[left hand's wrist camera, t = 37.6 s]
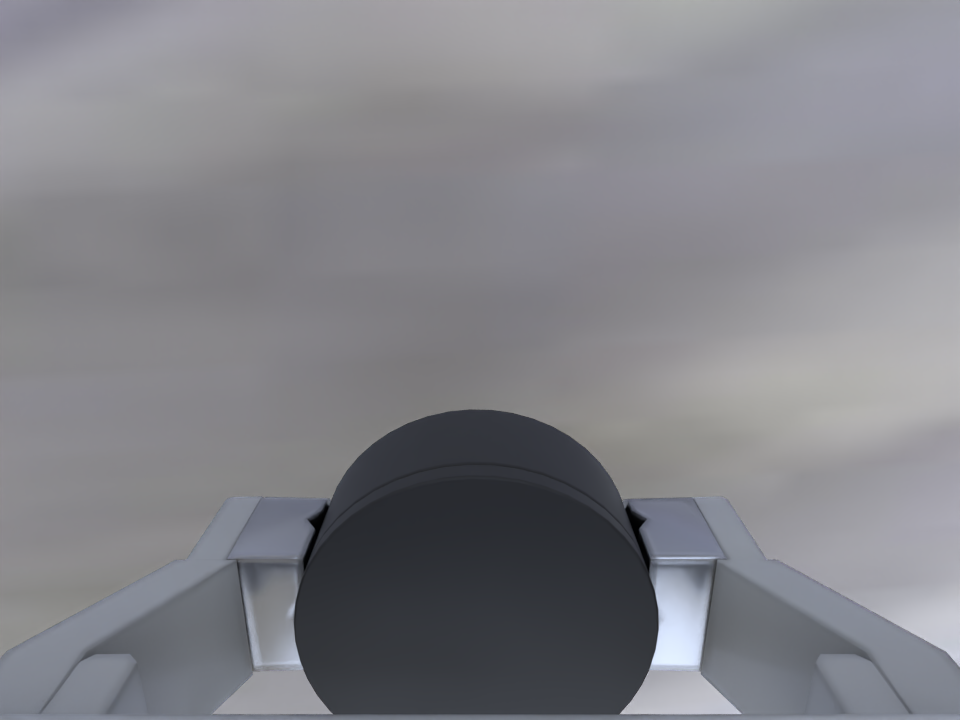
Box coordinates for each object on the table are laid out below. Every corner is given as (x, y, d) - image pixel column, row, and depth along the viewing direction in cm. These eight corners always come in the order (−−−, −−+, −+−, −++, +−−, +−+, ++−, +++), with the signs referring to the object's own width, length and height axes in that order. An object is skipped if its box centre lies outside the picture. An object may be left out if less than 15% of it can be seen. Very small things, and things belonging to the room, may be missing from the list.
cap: (269, 576, 10) (226, 672, 9) (436, 347, 9) (426, 404, 7) (509, 707, 11) (515, 817, 10) (690, 514, 10) (736, 601, 8)
